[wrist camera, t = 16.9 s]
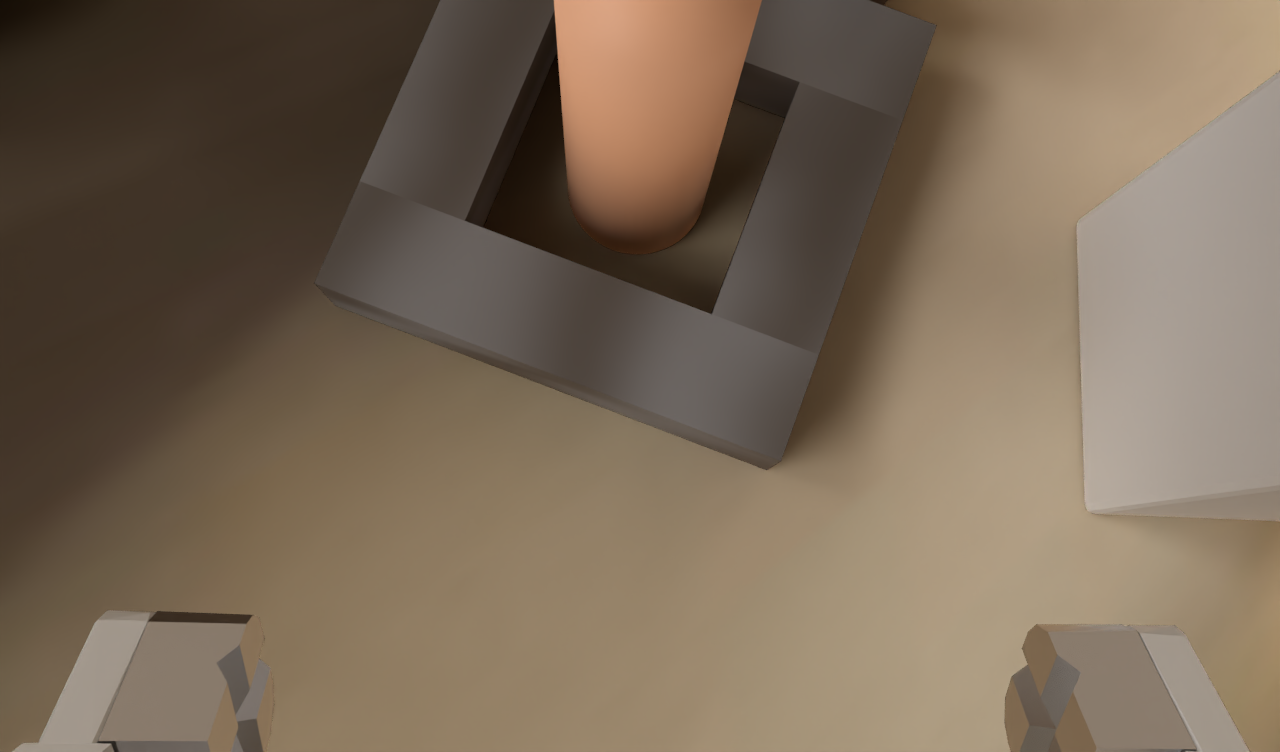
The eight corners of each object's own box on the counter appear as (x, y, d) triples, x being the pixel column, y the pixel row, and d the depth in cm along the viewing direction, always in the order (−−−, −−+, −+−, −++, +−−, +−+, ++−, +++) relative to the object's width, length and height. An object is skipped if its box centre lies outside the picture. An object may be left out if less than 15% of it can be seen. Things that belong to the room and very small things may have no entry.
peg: (547, 225, 33) (519, 31, 21) (596, 103, 34) (597, -150, 22) (677, 274, 33) (721, 106, 21) (724, 150, 34) (793, -79, 22)
